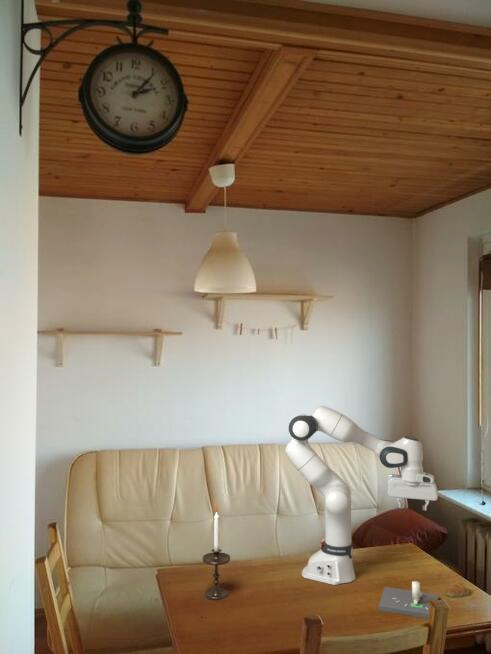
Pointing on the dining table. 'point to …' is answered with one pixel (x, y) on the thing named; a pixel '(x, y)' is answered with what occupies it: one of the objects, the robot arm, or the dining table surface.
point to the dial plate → (405, 602)
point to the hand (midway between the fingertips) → (412, 509)
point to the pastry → (457, 590)
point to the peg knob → (416, 591)
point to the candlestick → (216, 564)
